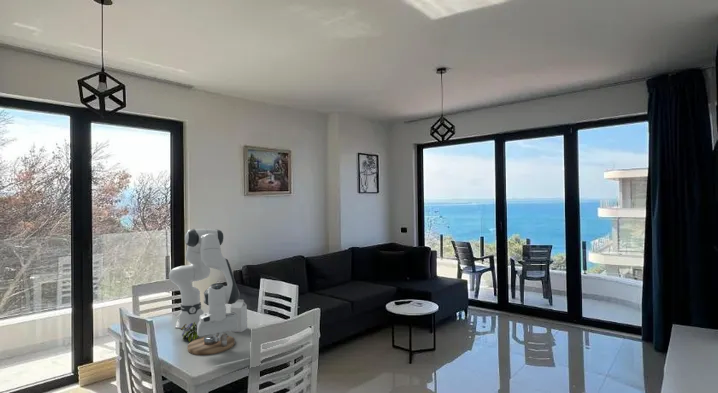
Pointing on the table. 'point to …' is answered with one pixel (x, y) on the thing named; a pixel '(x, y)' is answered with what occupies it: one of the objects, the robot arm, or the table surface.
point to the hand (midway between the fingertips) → (217, 341)
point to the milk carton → (240, 315)
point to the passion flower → (190, 329)
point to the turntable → (210, 346)
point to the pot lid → (210, 340)
